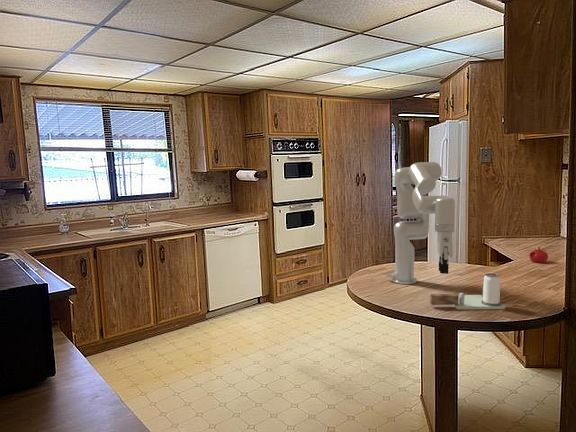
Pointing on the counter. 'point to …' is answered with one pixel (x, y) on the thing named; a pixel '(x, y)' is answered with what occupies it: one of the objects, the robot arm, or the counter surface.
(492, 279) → the can
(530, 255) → the pomegranate
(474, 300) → the board
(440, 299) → the leg
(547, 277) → the counter surface
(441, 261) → the robot arm
